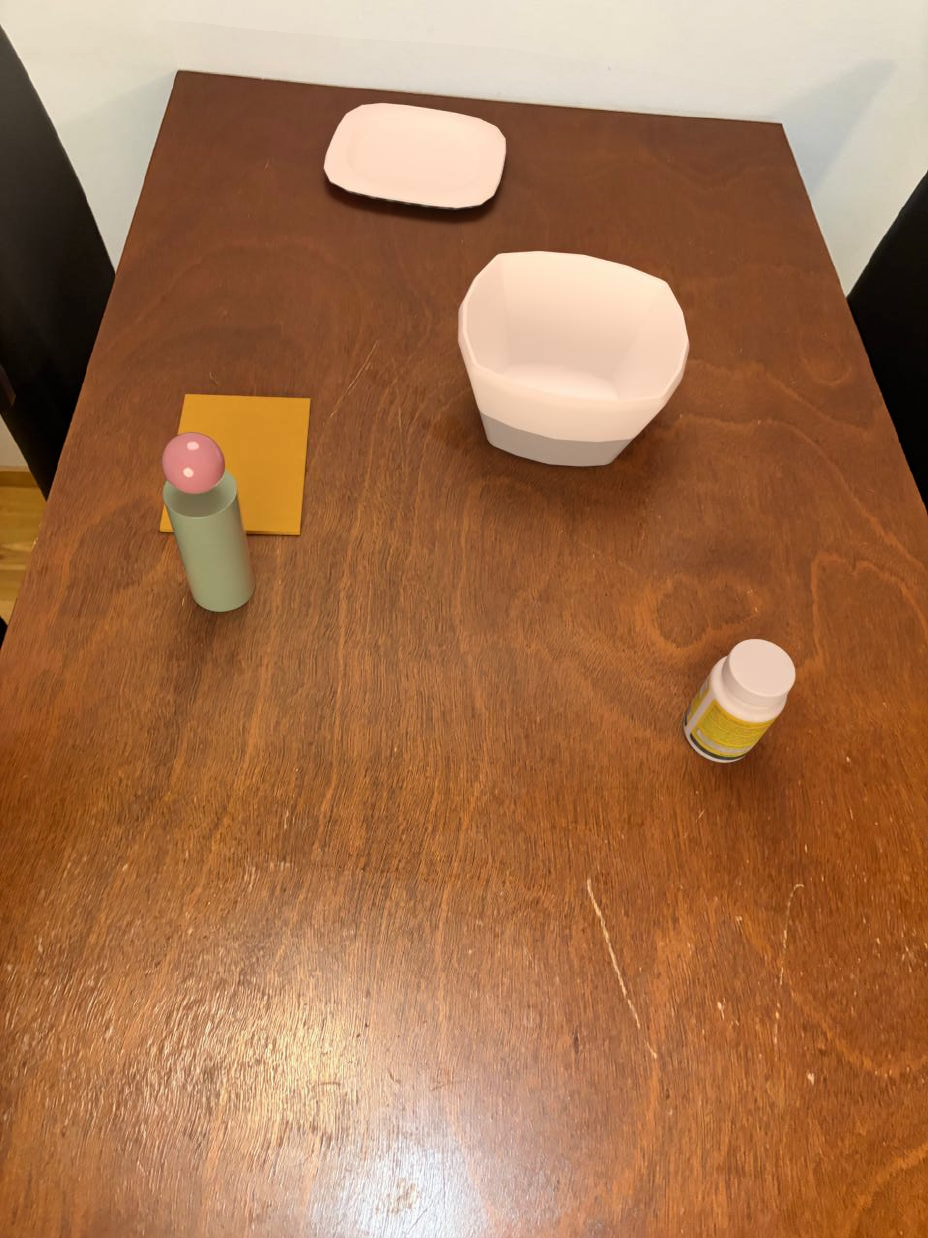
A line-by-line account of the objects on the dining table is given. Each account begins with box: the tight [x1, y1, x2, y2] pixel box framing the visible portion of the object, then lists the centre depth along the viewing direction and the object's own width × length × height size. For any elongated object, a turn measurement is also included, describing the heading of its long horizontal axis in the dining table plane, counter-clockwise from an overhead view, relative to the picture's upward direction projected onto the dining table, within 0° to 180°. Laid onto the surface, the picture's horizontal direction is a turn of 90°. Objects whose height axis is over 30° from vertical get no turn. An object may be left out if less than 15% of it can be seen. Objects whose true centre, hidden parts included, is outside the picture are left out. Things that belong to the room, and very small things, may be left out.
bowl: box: [457, 250, 690, 467], centre depth 71 cm, size 18×18×9 cm
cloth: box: [159, 393, 312, 536], centre depth 68 cm, size 14×10×1 cm
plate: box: [323, 102, 507, 211], centre depth 93 cm, size 18×18×2 cm
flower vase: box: [160, 432, 256, 613], centre depth 56 cm, size 4×4×14 cm
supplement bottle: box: [682, 638, 796, 764], centre depth 56 cm, size 5×5×8 cm
